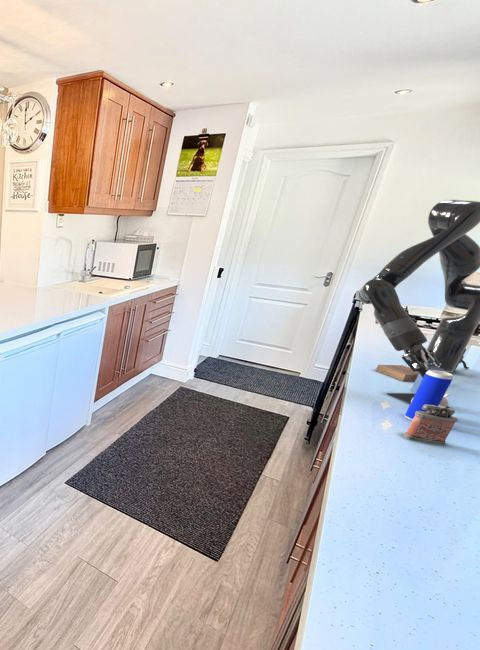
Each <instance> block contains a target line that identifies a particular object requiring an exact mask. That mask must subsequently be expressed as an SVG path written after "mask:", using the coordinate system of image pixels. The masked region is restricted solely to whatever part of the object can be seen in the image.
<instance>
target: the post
mask: <svg viewBox="0 0 480 650" xmlns="http://www.w3.org/2000/svg"><path fill="white" fill-rule="evenodd" d="M427 366H428V368H429V370H439V371H444V369H442V368H439V367H435V366H430V365H427ZM427 371H428V370H427ZM422 380H423V378H422V376H421V375H420V373H419V375H418V377H417V379H416V381H413V382H414V383H413V384H412V386H411V389H410V390H409V392H410V393H413V394H416V392H417V390H418V388H419V386H420V384H421V382H422Z"/></svg>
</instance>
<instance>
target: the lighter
mask: <svg viewBox="0 0 480 650" xmlns="http://www.w3.org/2000/svg"><path fill="white" fill-rule="evenodd" d="M422 409H424V410H428V411H427V412H426V411H416V412H415V417H414V418H413V420H411V423H410V424H409V426H408V428H407V430H406V432H404V434H403V437H404V438H406V439H408V440H409V441H410V440H411V441H415V442H420V443H424V444H431V445H432V444H433V445H439V446H444V445H445V444H446V440H447V438H448V437H449V434H450V432H451V431H452V429H453V428H454V426H455V424H456V423H457V422H458V421H459V419H458V418H457V417H456V416H453V415H455V414H456V413H455V412H456V411H457V410H456V409H454V408H450V407H449V408H446V407H444V406H441V405H439V406H434V405H427V404H425V405H423V407H422Z"/></svg>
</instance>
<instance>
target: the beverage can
mask: <svg viewBox="0 0 480 650" xmlns="http://www.w3.org/2000/svg"><path fill="white" fill-rule="evenodd" d="M453 379H454V375H453V374H452V373H447V372H444V371H439V370H429V371H427V372H426V374H425V376H424V378H423V380H422V382H421V384H420V386H419V388H418V390H417V392H416V394H415V396H414V398H413V400H412V402H411V404H409V405H408V408H407V410H406V411H405V414H404V417H405V418H406V419H408V420H409V421H412V420H413V418H414V417H415V412H416V411H426V412H427V411H428V410H424V409H422V407H423V405H425V404H427V405H434V406H439V404H440V402H441V400H442V398H443V396H444V395H445V394H447V391H448V389H449V387H450V385H451V384H452V382H453Z"/></svg>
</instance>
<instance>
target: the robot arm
mask: <svg viewBox="0 0 480 650" xmlns="http://www.w3.org/2000/svg"><path fill="white" fill-rule="evenodd" d="M427 224H428V228H429V230H430V232H431V235H432V237H430V238H427V239H426V240H424V241H421V242H418V243H416V244H414V245H411V246H409V247H407V248H406V249H404V250H402V251H400V252H399V253H398V254H397V255H395V256H394V257H393V258H392V259H391V260H390V261H389V262H388V263H387V264H386V265H384V266H383V268H382V269H381V270H380V271H379V272H378V273H377V274H376V275H375V276H374V277H373V278H371V279H369V280H368V281H366V282H365V283H364V284H363V286H362V287H361V288H360V289H359V290H358V293H357V298H358V300H359V301H360V303H362V304H365V305H372V307H373V316H374V318H375V319H376V321H377V322H378V324H379V325H380V328H381V329H382V331H383V333H384V335H385V336H386V338H387V339H388V341H389V342H390V344H391V345H392V347H393V348H394V350H395V351H397V352H401V351H403V352H404V354H402V355H400V358H401V359H402V360H403V361H404V362H405V364H406V365H407V367H409V368H411V369H412V371H414V372H415V371H417V372H418V373H420V375H421V376H422V378H424V376H425V374H426V372H427V370H428V371H429V368H428V366H427V365H430V366H435V367H439V368H442V369H444V372H447V373H450V374H452V373H454V372H456V370H457V368H458V366H459V365H460V364H461V363H462V365H463V368H464V369H465V370H469V369H470V367H469V366H467V363H466V361H465V360H464V358H465V356H464V355H465V353H466V351H467V347H468V344H469V342H470V340H471V339H472V337H473V335H474V333H475V331H476V329H477V327H478V325H479V324H480V285H478V284H470V283H467V282H466V281H465V280H467V278H469V277H470V276H472V275H473V274H475V273H476V272H477V271H478V270H479V269H480V245H479V243H477V242H476V241H475V240H474V239H472V237H470V235H468V234H467V233H469V232H471V231H472V230H473V229H475V228H476V227H477V226H478V225H479V224H480V201H477V200H465V199H464V200H462V199H443V200H441V201H439V202H437V203H436V204H435V205H433V206H432V208H431V209H430V211H429V213H428V217H427ZM436 254H438V255H439V263H440V267H441V271H442V276H443V280H444V281H443V282H444V302H445V305H446V306H448V307H450V308H452V309H458V310H463V311H466V312H465V314H462V315H459V316H446V317H443V318H441V320H440V321H439V324H438V325H437V328H436V330H434V331H435V332H434V334H433V336H432V338H431V339H430V341H429V344H428V346H427V348H426V347H425V346H424V345H423V344H425V343H427V342H428V338H427V337H426V336H425V335H424V333H423V331H422V330H421V328H419V326H418V325H417V323H416V322H415V321H414V320H413V319H412V318H411V316H410V315H409V314H408V312H407V310H406V309H405V308H404V307H403V305H402V304H401V302H400V298H399V296H398V293H397V290H396V288H397V287H398V285H400V284H401V283H403V281H405V280H407V278H409V277H410V276H411V275H412V274H413V273H414V272H415V271H417V270H418V269H419V268H420V267H421V266H422V265H423V264H424V263H426V262H427V261H428V260H430V259H431V258H432V257H434V256H435V255H436Z"/></svg>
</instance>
